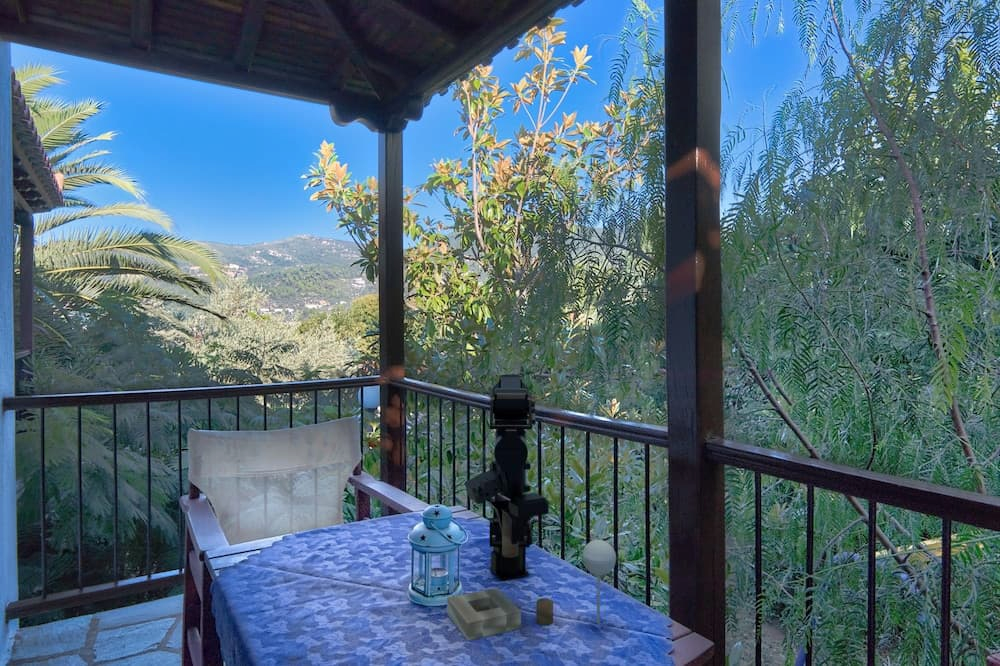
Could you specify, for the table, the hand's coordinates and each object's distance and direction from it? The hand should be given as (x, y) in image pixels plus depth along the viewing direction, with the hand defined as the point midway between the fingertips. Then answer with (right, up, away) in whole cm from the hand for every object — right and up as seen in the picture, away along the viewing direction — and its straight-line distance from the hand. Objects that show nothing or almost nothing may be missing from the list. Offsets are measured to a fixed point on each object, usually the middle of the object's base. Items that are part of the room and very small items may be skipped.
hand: (510, 540), depth 113 cm
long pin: (0, -3, 0) cm, 3 cm away
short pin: (+6, -13, -4) cm, 15 cm away
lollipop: (+16, -13, -5) cm, 21 cm away
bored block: (-5, -13, -4) cm, 14 cm away
